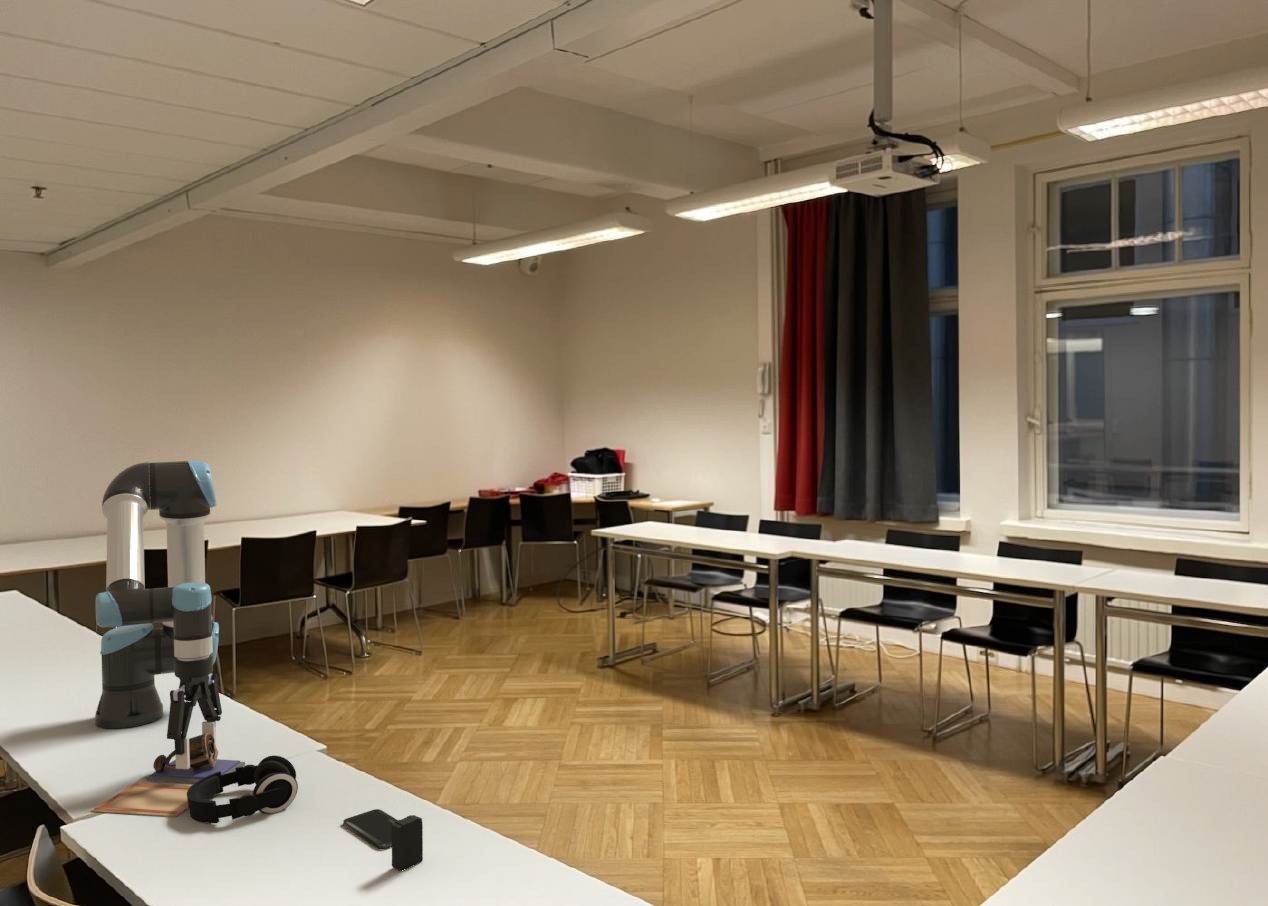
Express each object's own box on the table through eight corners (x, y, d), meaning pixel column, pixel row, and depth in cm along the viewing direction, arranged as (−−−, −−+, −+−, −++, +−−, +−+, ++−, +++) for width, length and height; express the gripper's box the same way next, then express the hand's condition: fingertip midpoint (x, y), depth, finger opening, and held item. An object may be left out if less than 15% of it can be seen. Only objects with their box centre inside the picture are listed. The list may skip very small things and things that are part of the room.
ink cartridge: (414, 857, 170) (414, 813, 169) (423, 861, 168) (422, 816, 168) (391, 868, 166) (390, 822, 165) (399, 872, 164) (399, 826, 164)
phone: (380, 847, 172) (341, 820, 183) (380, 853, 172) (341, 826, 183) (419, 833, 178) (378, 807, 188) (419, 839, 178) (378, 813, 188)
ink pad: (177, 761, 214) (177, 756, 214) (245, 765, 212) (245, 759, 212) (146, 780, 204) (146, 775, 204) (216, 785, 201) (216, 779, 201)
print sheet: (137, 783, 202) (137, 782, 202) (217, 788, 200) (217, 786, 200) (90, 811, 188) (90, 810, 188) (176, 817, 186) (176, 816, 186)
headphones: (295, 774, 186) (181, 801, 179) (301, 813, 187) (187, 842, 180) (293, 744, 203) (188, 768, 196) (298, 780, 203) (194, 805, 196)
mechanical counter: (200, 754, 201) (227, 727, 210) (144, 745, 203) (173, 719, 212) (203, 783, 203) (229, 756, 213) (147, 774, 205) (175, 748, 214)
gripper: (206, 642, 218) (209, 741, 219) (144, 670, 196) (148, 778, 198) (237, 644, 217) (240, 742, 218) (179, 671, 195) (182, 780, 197)
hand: (196, 759), depth 208 cm, fingers closed on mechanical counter, 9 cm apart
